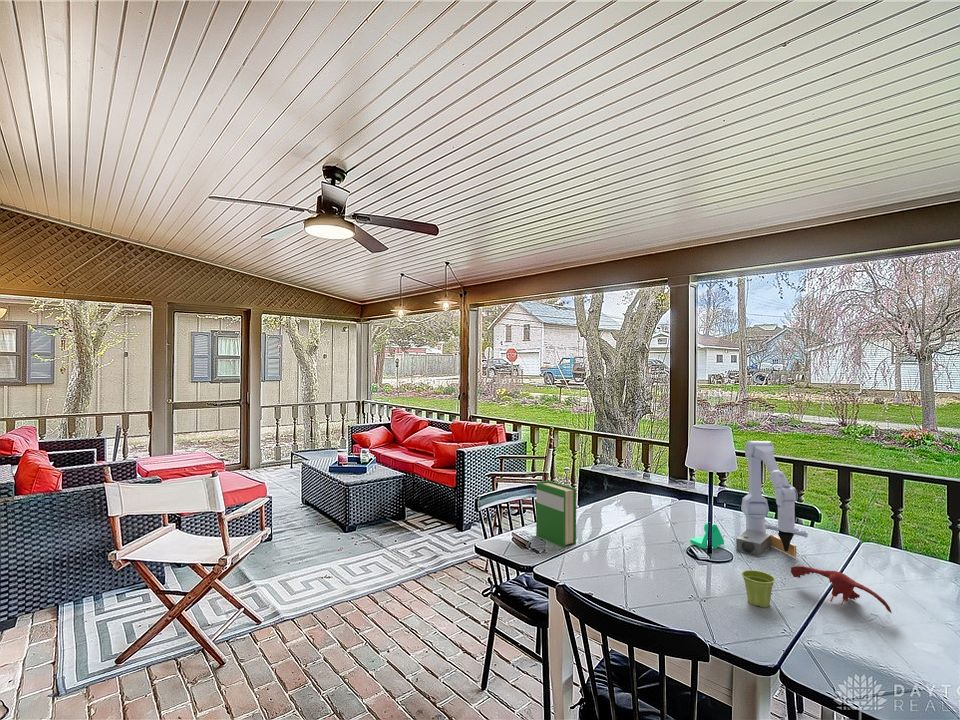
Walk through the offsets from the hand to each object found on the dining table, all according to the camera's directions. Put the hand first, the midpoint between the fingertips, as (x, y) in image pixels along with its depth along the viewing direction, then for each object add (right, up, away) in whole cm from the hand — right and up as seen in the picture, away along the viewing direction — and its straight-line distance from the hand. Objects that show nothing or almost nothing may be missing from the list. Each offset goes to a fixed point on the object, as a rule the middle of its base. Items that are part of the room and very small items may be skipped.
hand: (786, 550), depth 193 cm
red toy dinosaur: (-7, -2, -38) cm, 39 cm away
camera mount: (-27, -3, +12) cm, 29 cm away
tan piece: (+2, -2, +5) cm, 5 cm away
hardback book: (-91, -3, +18) cm, 92 cm away
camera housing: (-8, -3, +9) cm, 12 cm away
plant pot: (-34, -2, -38) cm, 51 cm away
